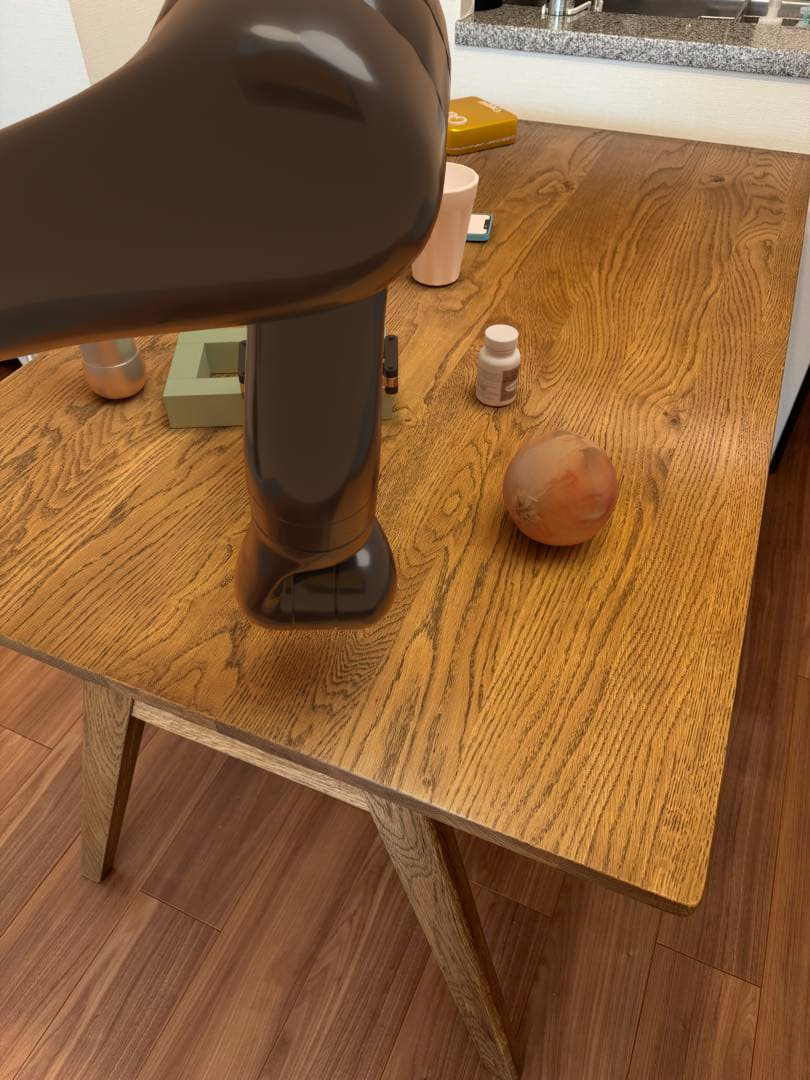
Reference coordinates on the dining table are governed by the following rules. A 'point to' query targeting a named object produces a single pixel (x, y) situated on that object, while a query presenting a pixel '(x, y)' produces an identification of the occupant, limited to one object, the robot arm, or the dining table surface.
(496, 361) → the pill bottle
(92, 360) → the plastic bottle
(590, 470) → the onion
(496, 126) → the element tile
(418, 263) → the cup
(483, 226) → the smartphone
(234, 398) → the holder
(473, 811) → the dining table surface
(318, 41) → the robot arm
